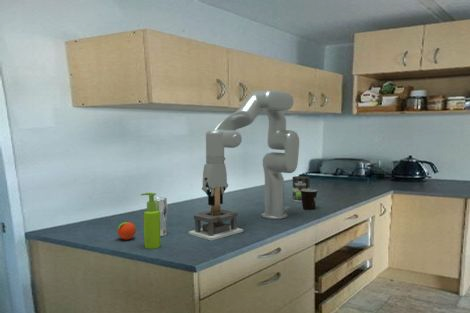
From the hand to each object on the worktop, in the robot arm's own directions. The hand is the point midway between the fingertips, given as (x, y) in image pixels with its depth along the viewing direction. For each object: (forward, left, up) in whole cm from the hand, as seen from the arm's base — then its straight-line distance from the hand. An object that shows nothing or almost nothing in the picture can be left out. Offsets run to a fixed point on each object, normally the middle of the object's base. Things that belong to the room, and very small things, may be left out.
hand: (215, 204), depth 160 cm
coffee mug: (-65, +1, -12) cm, 66 cm away
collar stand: (0, 0, -12) cm, 12 cm away
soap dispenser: (+29, -4, -12) cm, 32 cm away
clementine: (+31, -19, -12) cm, 38 cm away
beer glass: (+18, -15, -12) cm, 26 cm away
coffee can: (-84, -16, -12) cm, 87 cm away
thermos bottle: (0, 0, -7) cm, 7 cm away
